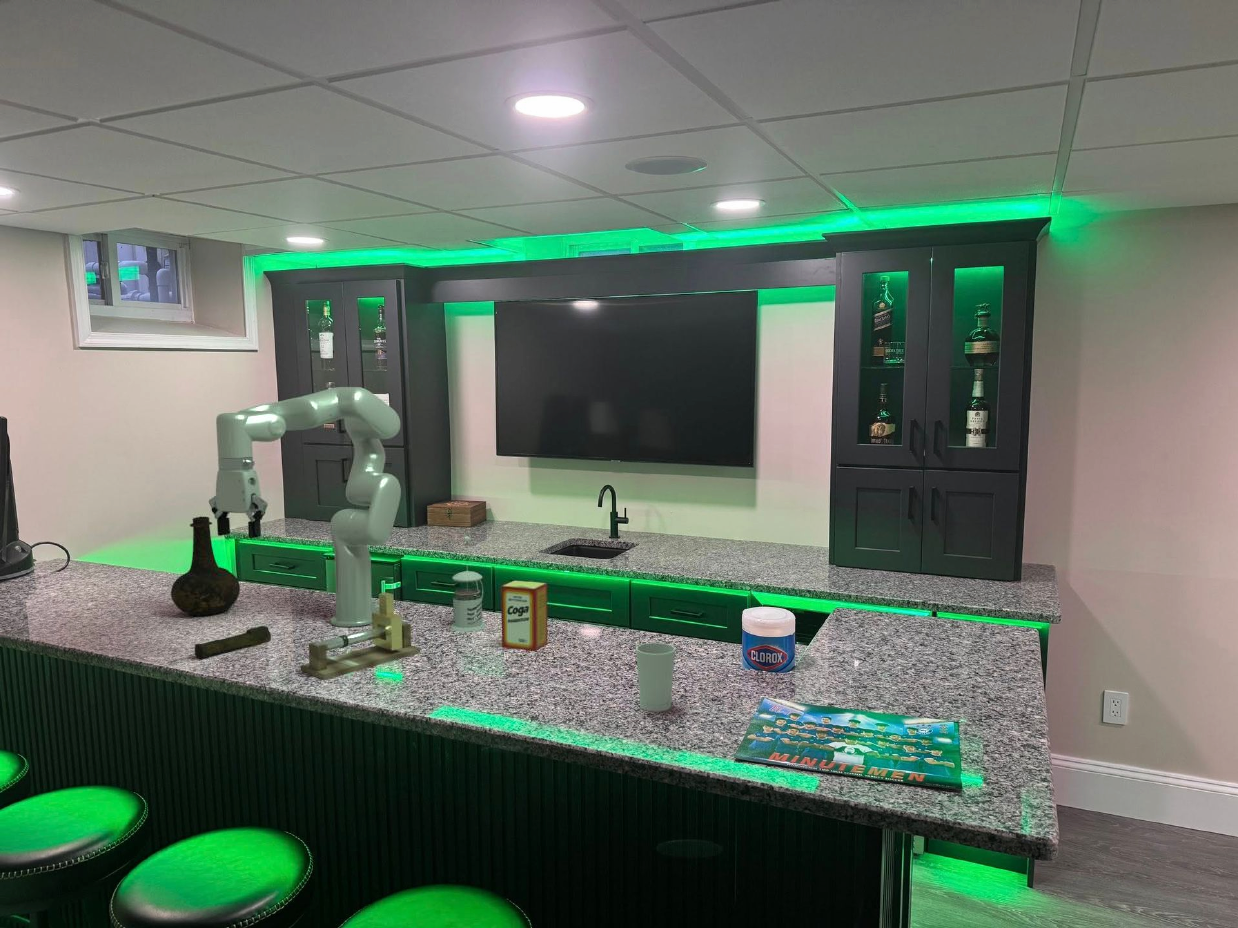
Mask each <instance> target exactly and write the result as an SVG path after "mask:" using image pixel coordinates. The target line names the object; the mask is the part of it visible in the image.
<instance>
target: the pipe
mask: <svg viewBox="0 0 1238 928" xmlns="http://www.w3.org/2000/svg"><path fill="white" fill-rule="evenodd" d="M406 623H407V622H406V621H403V620H402V625H403V624H406ZM384 636H386V626H383V627H378V628H374V629H372V628H371V629H366V630H363V631H359V632H354V633H349V634H343V635H339V636H338V637H334V638H330V639H324V640H321V641H315V642H316V643H314V644H315V645H322V644H325V645H326V652H327V651H331V650H335V649H339V648H340V649H343V648H347V647H348V646H350V645H356V644H359V643H363V642H366V641H367V642H369V641H370V640H371V641H372V639H376V638H380V637H384Z"/></svg>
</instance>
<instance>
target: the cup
mask: <svg viewBox="0 0 1238 928" xmlns="http://www.w3.org/2000/svg"><path fill="white" fill-rule="evenodd" d="M635 652H636V664H637V677H638V678H637V679H638V690H639V707H640V708H641V710H644V711H647V712H653V713H655V712H657V713H660V712H665V711H668V710H670V709H671V708H672V694H673V693H672V692H673V691H672V689H673V679H674V667H675V657H676V656H675V655H676V647H675V646H673V645H671V644H668V643H663V642H648V643H647V642H645V643H643V644H642V643H641V644H639V645H636V647H635Z"/></svg>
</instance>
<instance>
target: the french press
mask: <svg viewBox="0 0 1238 928" xmlns="http://www.w3.org/2000/svg"><path fill="white" fill-rule="evenodd" d="M462 538H463V542H466V545H465V546H466V554H468V542H470V541H471V537H470V536H467V535H466V536H464V537H462ZM468 567H469V566H468V565H466V570H465V571H462V572H458V573H456V574H454V575H453V576H452V577H451V578H452V580H453V581H454V582H459V583H466V588H462V589H457V590H455V591H454V592H453V593H454V595H455V596H453V597H452V598H453V600H452V602H453V603H452V604H453V605H452V607H453V611H452V612H453V618H452V619H453V623H451V625H450V626H449V629H450V630H452V631H454V632H455V631H456V632H463V633H464V632H475V631H480V630H483V629H485V628H486V627H487V625H486V624H485V623H484V622H483V612H482V611H483V608H482V606H483V603H482V601H483V597H484V585H483V582H482V579H483V576H482V575H481V574H479V572H476V571H469V570H468ZM474 582H475V583H474ZM479 582H480V584H481V589H482V590H480V589H479V585H478V584H479ZM468 583H472V585H476V588H469V587H468V586H469V585H468ZM481 593H482V595H480V594H481Z"/></svg>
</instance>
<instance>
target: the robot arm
mask: <svg viewBox="0 0 1238 928" xmlns="http://www.w3.org/2000/svg"><path fill="white" fill-rule="evenodd" d="M342 419H344V422H343V423H344V427H345V430H346V432H347V434H348V436H349V438H350V440H351V441H352V445H353V447H354V457H353V462H352V466H351V469H350V473H349V475H348V479H347V482H346V483H347V484H346V487H345V497H346V499H347V501H348V502H349V503H351V504H353V505H356V506H360V507H361V506H362V507H369V508H368V510H367V509H359V508H357V509H356V508H346V509H345V508H344V509H341V510H339V511H337V512H336V513H334V515H333V516H332V517H331V521H330V524H329V525H330V526H329V530H330V536H331V540H332V544H333V550H334V553H333V554H334V574H335V575H334V577H335V605H336V606H335V610H336V613H335V615H334V616H332V617H331V618H330V624H331V625H333V626H336V627H342V628H345V627H346V628H347V627H348V628H351V627H363V626H368V625H372V613H373V612H378V611H379V603H377V602H373V600H372V566H371V565H372V561H371V559H372V558H371V554H370V550H369V548H368V546H371V547H377V546H382V545H385V543H386V542H387V541H388V540H389V538H390V536H391V534H392V532H393V528H394V523H395V521H396V520H395V519H396V517H397V513H398V509H399V506H400V501H401V496H402V489H401V485H400V482H399V479H398V478H397V477H396V476H394V475H393V474H390V473H386V472H384V469H385V468H384V467H385V464H386V452H385V448H384V446H383V445H382V442H381V440H389V439H392V438H394V437H396V436H397V435H398V434H399V432H400V430H401V420H400V417H399V415H398V413H397V412H396V411H395V409H393V408H392V407H391V406H390V405H389V404H388V403H386V402H384V401H383V400H382V399H380V398H379V397H378V396H377V395H376V394H374V393H373V392H371V391H369V390H368V389H366V388H363V387H360V386H338V387H332V388H329V389H323V390H321V391H317V392H313V393H311V394H307V395H303V396H299V397H293V398H289V399H285V400H281V401H280V400H279V401H275V402H270V403H265V404H260V405H256V406H252V407H249V408H245V409H244V408H243V410H239V411H237V412H224V413H220V414H218V415H217V416H216V420H215V421H216V423H215V425H216V438H217V439H216V442H217V443H216V445H217V463H218V464H217V465H218V470H217V474H216V483H215V496H213V497H212V498H210V499H208V504H209V507H210V508H211V509H210V511H211V513H212V514H213V515H214V519H215V520H216V525H217V526H216V527H217V536H218V537H219V536H220V537H222V536H225V535H230V534H231V523H230V517H228V516H229V514H230V513H234V514H235V513H236V514H246V517H247V518H248V520H249V521H248V522H247V525H248V527H247V528H248V529H247V530H248V531H247V532H248V538H249V539H255V538H259V537H261V535H262V528H261V526H262V525H261V521H262V520H263V519H264V516H265V514H266V511H267V508H268V505H269V504H268V502H267V501H265V500H264V499H263V498H262V497H261V487H260V481H259V477H258V474H257V470H255V469H254V466H255V465H256V464H255V461H254V456H253V442H257V443H258V442H259V443H272V442H275V441H278V440H279V439H281V438H282V437H283V436H284V435H285V433H286V431H302V430H304V431H305V430H309V429H310V430H311V429H313V428H316V427H319V426H320V427H321V426H323V425H326V424H328V423H332V422H335V421H338V420H342Z"/></svg>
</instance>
